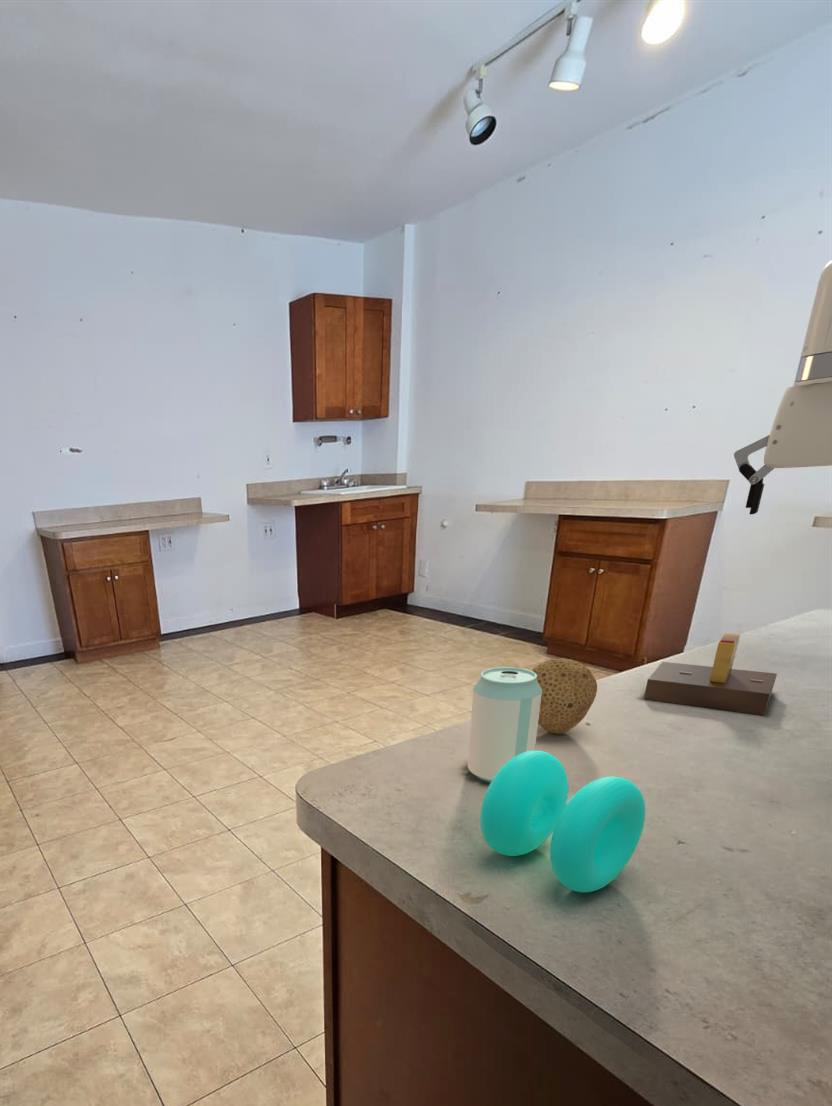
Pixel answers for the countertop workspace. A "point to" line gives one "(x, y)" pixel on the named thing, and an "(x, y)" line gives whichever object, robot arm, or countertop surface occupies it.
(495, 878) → the countertop surface
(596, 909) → the countertop surface
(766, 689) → the plate
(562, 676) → the natural sponge
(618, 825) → the donuts
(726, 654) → the thumbturn
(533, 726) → the can
